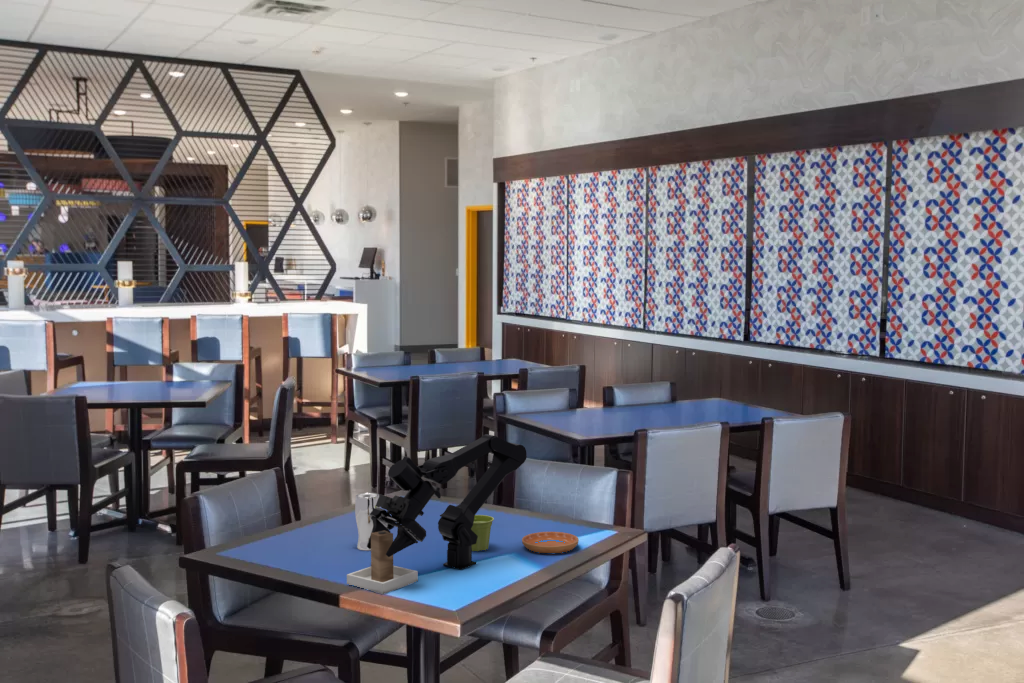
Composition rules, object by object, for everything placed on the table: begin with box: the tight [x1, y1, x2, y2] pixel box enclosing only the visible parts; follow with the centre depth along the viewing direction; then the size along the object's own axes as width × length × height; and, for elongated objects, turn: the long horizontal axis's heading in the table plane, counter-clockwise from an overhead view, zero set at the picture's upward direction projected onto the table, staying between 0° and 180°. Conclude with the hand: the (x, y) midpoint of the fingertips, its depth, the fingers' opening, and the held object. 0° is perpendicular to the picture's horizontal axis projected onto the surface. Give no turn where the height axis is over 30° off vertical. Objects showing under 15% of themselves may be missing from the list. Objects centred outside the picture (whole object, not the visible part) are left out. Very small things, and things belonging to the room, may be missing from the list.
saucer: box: [521, 531, 580, 554], centre depth 270 cm, size 16×16×3 cm
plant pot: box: [471, 514, 495, 552], centre depth 269 cm, size 9×9×9 cm
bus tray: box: [346, 564, 419, 595], centre depth 238 cm, size 12×12×3 cm
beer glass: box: [354, 492, 381, 551], centre depth 270 cm, size 7×7×15 cm
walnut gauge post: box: [370, 530, 394, 582], centre depth 238 cm, size 4×4×12 cm
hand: (377, 551), depth 237 cm, fingers open, 9 cm apart
